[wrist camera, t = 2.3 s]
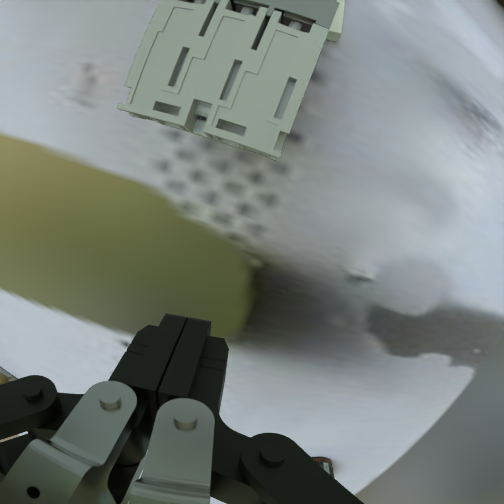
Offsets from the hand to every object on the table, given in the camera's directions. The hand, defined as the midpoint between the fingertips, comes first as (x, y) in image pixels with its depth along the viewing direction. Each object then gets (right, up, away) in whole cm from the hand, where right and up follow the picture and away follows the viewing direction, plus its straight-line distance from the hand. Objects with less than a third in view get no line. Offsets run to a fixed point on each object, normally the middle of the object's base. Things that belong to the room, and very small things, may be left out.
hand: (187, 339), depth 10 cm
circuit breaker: (+3, +19, +14) cm, 24 cm away
